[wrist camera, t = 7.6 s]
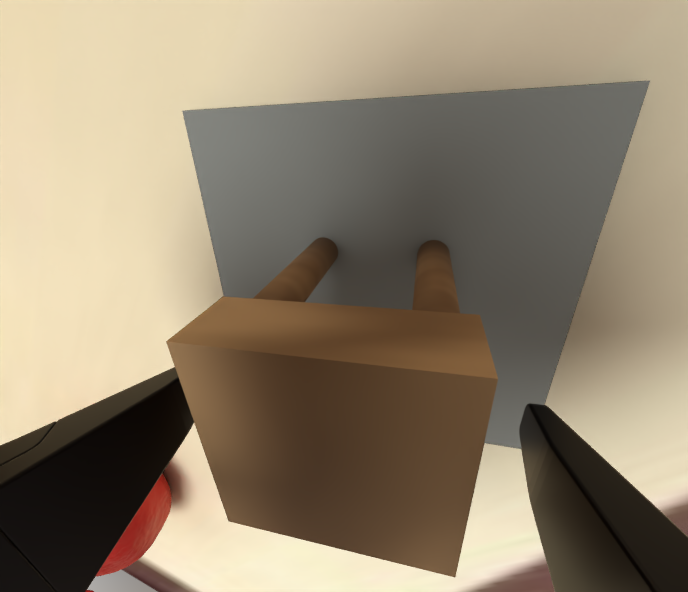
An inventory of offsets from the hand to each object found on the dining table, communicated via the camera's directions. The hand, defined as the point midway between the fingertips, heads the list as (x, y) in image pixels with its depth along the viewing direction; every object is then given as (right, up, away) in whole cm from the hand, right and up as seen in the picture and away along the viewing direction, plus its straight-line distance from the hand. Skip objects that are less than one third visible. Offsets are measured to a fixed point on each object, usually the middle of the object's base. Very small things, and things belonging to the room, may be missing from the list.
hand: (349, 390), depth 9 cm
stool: (+1, +2, +5) cm, 6 cm away
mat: (+1, +3, +5) cm, 6 cm away
